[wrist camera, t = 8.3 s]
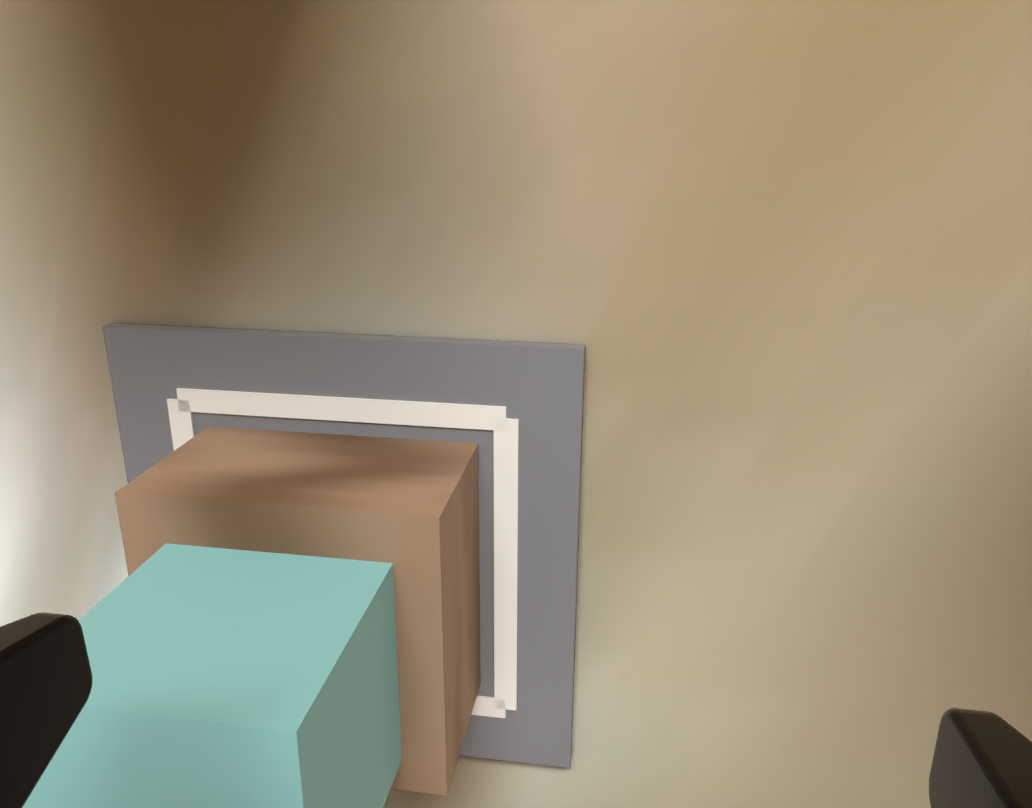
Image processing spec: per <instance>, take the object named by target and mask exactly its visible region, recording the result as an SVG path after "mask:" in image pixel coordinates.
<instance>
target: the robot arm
mask: <svg viewBox="0 0 1032 808" xmlns="http://www.w3.org/2000/svg"><path fill="white" fill-rule="evenodd" d="M92 681H93V677H92V671H91V666H90V662H89V657H88V653H87V648H86V643H85V639H84V634H83V630H82V627H81V624H80V623H79V621H78V620H77V619H76V618H74V617H72V616H70V615H62V614H53V613H37V614H33V615H30V616H28V617H25V618H22V619H20V620H17V621H14V622H12V623H9V624H7V625H4V626H1V627H0V808H22V807H23V806H24V804H25V802H26V801H27V799H28V797H29V796H30V794H31V793H32V791H33V789H34V788H35V786H36V784H37V783H38V781H39V779H40V778H41V776H42V774H43V773H44V771H45V770H46V768H47V766H48V765H49V763H50V761H51V760H52V758H53V756H54V755H55V753H56V751H57V750H58V748H59V747H60V745H61V743H62V742H63V740H64V738H65V737H66V735H67V733H68V732H69V730H70V728H71V727H72V725H73V724H74V722H75V720H76V719H77V717H78V715H79V714H80V712H81V710H82V709H83V707H84V705H85V704H86V702H87V700H88V698H89V695H90V693H91V689H92ZM929 797H930V805H931V808H1032V742H1031V741H1030V740H1029V739H1027V738H1026V737H1025V736H1024V735H1022V734H1021V733H1020V732H1019V731H1017V730H1016V729H1015V728H1014V727H1012V726H1011V725H1010V724H1008V723H1007V722H1006V721H1005V720H1003V719H1002V718H1001V717H999V716H998V715H996V714H994V713H991V712H986V711H977V710H967V709H957V708H951V709H949V710H947V711H946V712H945V713H944V715H943V717H942V718H941V722H940V726H939V731H938V736H937V741H936V746H935V752H934V757H933V762H932V767H931V772H930V778H929Z"/></svg>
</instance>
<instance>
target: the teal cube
mask: <svg viewBox="0 0 1032 808" xmlns="http://www.w3.org/2000/svg"><path fill="white" fill-rule="evenodd" d="M79 623H80V624H81V627H82V630H83V634H84V639H85V643H86V648H87V653H88V657H89V662H90V666H91V671H92V677H93V681H92V689H91V693H90V695H89V698H88V700H87V702H86V704H85V705H84V707H83V709H82V710H81V712H80V714H79V715H78V717H77V719H76V720H75V722H74V724H73V725H72V727H71V728H70V730H69V732H68V733H67V735H66V737H65V738H64V740H63V742H62V743H61V745H60V747H59V748H58V750H57V751H56V753H55V755H54V756H53V758H52V760H51V761H50V763H49V765H48V766H47V768H46V770H45V771H44V773H43V774H42V776H41V778H40V779H39V781H38V783H37V784H36V786H35V788H34V789H33V791H32V793H31V794H30V796H29V797H28V799H27V801H26V802H25V804H24V806H23V807H22V808H383V807H384V804H385V802H386V799H387V797H388V794H389V791H390V789H391V786H392V784H393V781H394V778H395V776H396V773H397V771H398V768H399V765H400V763H401V760H402V752H401V730H400V708H399V687H398V665H397V643H396V621H395V599H394V577H393V563H385V562H373V561H362V560H350V559H339V558H328V557H316V556H305V555H293V554H282V553H270V552H259V551H247V550H236V549H224V548H213V547H201V546H190V545H178V544H167V543H166V544H165V545H163V546H162V547H161V548H160V549H159V550H158V551H157V552H156V553H154V554H153V555H152V556H151V557H150V558H149V559H148V560H147V561H145V562H144V563H143V564H142V565H141V566H140V567H139V568H138V569H136V570H135V571H134V572H133V573H132V574H131V575H130V576H129V577H127V578H126V579H125V580H124V581H123V582H122V583H121V584H120V585H118V586H117V587H116V588H115V589H114V590H113V591H112V592H111V593H109V594H108V595H107V596H106V597H105V598H104V599H103V600H102V601H100V602H99V603H98V604H97V605H96V606H95V607H94V608H93V609H91V610H90V611H89V612H88V613H87V614H86V615H85V616H84V617H82V618H81V619H80V620H79Z"/></svg>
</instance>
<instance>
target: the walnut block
mask: <svg viewBox="0 0 1032 808" xmlns="http://www.w3.org/2000/svg"><path fill="white" fill-rule="evenodd" d="M115 497H116V503H117V509H118V515H119V521H120V527H121V533H122V539H123V545H124V551H125V557H126V563H127V569H128V575H129V576H130V575H131V574H132V573H133V572H134V571H135V570H136V569H138V568H139V567H140V566H141V565H142V564H143V563H144V562H145V561H147V560H148V559H149V558H150V557H151V556H152V555H153V554H154V553H156V552H157V551H158V550H159V549H160V548H161V547H162V546H163V545H165V544H166V543H167V544H178V545H190V546H201V547H213V548H224V549H236V550H247V551H259V552H270V553H282V554H293V555H305V556H316V557H328V558H339V559H350V560H362V561H373V562H385V563H393V577H394V599H395V621H396V643H397V665H398V687H399V708H400V730H401V752H402V760H401V763H400V765H399V768H398V771H397V773H396V776H395V778H394V781H393V784H392V786H391V789H395V790H403V791H411V792H419V793H427V794H435V795H443V796H447V794H448V790H449V787H450V784H451V780H452V777H453V774H454V770H455V767H456V764H457V760H458V757H459V754H460V750H461V747H462V744H463V740H464V737H465V734H466V730H467V727H468V724H469V720H470V717H471V714H472V710H473V707H474V704H475V700H476V697H477V694H478V690H479V687H480V684H481V675H480V573H479V472H478V443H465V442H449V441H433V440H417V439H401V438H385V437H370V436H354V435H338V434H322V433H306V432H290V431H274V430H259V429H243V428H227V427H211V426H208V427H207V428H205V429H204V430H203V431H201V432H200V433H198V434H197V435H196V436H194V437H193V438H191V439H190V440H189V441H187V442H186V443H184V444H183V445H182V446H180V447H179V448H177V449H176V450H175V451H173V452H172V453H170V454H169V455H168V456H166V457H165V458H163V459H162V460H160V461H159V462H158V463H156V464H155V465H153V466H152V467H151V468H149V469H148V470H146V471H145V472H144V473H142V474H141V475H139V476H138V477H137V478H135V479H134V480H132V481H131V482H130V483H128V484H127V485H125V486H124V487H123V488H121V489H120V490H118V491H117V492H115Z"/></svg>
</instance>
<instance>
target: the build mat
mask: <svg viewBox="0 0 1032 808" xmlns="http://www.w3.org/2000/svg"><path fill="white" fill-rule="evenodd" d="M103 332H104V338H105V344H106V350H107V357H108V363H109V369H110V375H111V381H112V388H113V394H114V400H115V406H116V412H117V419H118V425H119V431H120V437H121V443H122V450H123V456H124V462H125V468H126V474H127V481H128V483H130V482H131V481H132V480H134V479H135V478H137V477H138V476H139V475H141V474H142V473H144V472H145V471H146V470H148V469H149V468H151V467H152V466H153V465H155V464H156V463H158V462H159V461H160V460H162V459H163V458H165V457H166V456H168V455H169V454H170V453H172V452H173V451H175V450H176V449H177V448H179V447H180V446H182V445H183V444H184V443H186V442H187V441H189V440H190V439H191V438H193V437H194V436H196V435H197V434H198V433H200V432H201V431H203V430H204V429H205V428H207V427H208V426H211V427H227V428H243V429H259V430H274V431H290V432H306V433H322V434H338V435H354V436H370V437H385V438H401V439H417V440H433V441H449V442H465V443H478V472H479V573H480V675H481V684H480V687H479V690H478V694H477V697H476V700H475V704H474V707H473V710H472V714H471V717H470V720H469V724H468V727H467V730H466V734H465V737H464V740H463V744H462V747H461V750H460V754H459V755H460V756H469V757H477V758H486V759H494V760H503V761H512V762H520V763H529V764H537V765H546V766H554V767H563V768H570V764H571V749H572V720H573V691H574V661H575V632H576V603H577V573H578V544H579V515H580V485H581V456H582V427H583V397H584V368H585V345H582V344H560V343H538V342H516V341H494V340H472V339H450V338H428V337H406V336H384V335H362V334H340V333H318V332H296V331H273V330H251V329H229V328H207V327H185V326H163V325H141V324H119V323H112V324H109V325H106V326H104V327H103Z"/></svg>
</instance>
